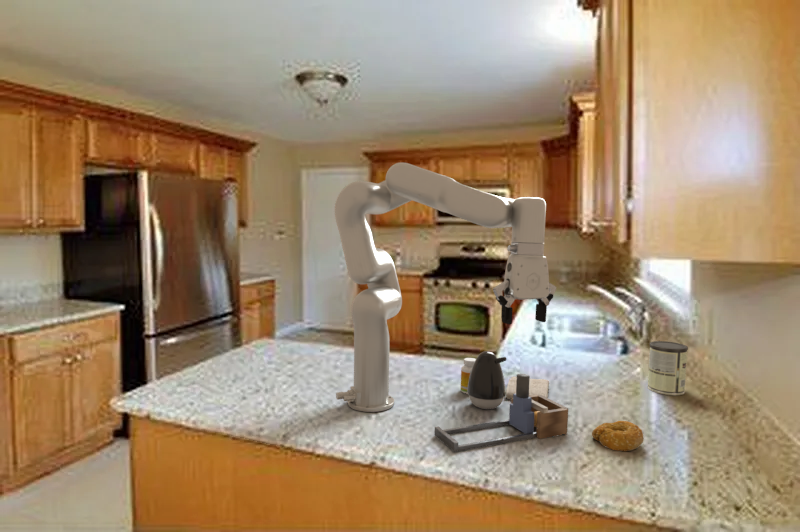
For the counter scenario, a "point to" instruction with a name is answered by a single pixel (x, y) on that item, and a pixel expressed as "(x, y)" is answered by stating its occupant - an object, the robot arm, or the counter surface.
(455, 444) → the track
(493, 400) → the pump dispenser
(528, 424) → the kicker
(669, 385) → the coffee can
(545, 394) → the washcloth
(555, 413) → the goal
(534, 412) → the ball
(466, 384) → the supplement bottle
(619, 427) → the bagel
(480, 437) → the counter surface
